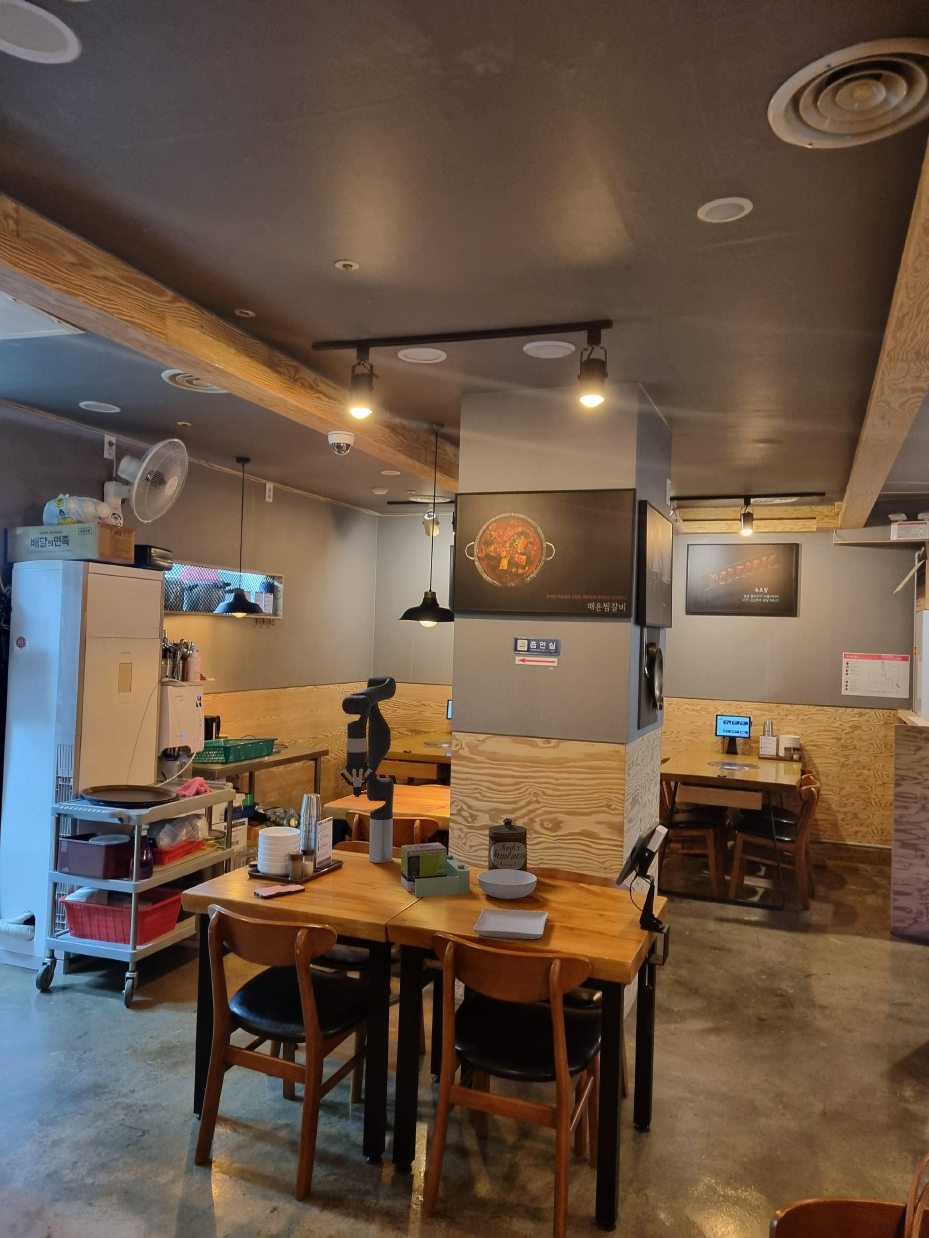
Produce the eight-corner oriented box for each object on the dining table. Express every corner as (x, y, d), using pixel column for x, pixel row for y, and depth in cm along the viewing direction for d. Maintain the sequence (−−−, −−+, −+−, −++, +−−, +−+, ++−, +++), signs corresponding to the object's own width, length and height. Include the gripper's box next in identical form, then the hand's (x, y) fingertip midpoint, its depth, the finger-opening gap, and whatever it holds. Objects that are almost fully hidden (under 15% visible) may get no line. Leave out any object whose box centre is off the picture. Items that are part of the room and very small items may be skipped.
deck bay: (401, 880, 316) (401, 856, 316) (451, 877, 322) (452, 853, 322) (415, 897, 295) (416, 871, 295) (469, 893, 301) (469, 867, 301)
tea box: (439, 881, 316) (440, 841, 316) (447, 889, 306) (447, 847, 306) (400, 884, 311) (400, 843, 311) (406, 892, 301) (407, 850, 302)
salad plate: (472, 939, 254) (472, 928, 254) (483, 917, 275) (483, 906, 275) (542, 945, 251) (542, 933, 251) (548, 922, 271) (548, 911, 272)
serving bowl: (533, 906, 286) (533, 886, 287) (472, 902, 290) (472, 882, 291) (539, 889, 307) (540, 870, 307) (482, 885, 311) (483, 866, 311)
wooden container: (490, 881, 316) (490, 822, 317) (486, 871, 331) (486, 814, 332) (529, 881, 317) (530, 822, 318) (523, 870, 332) (524, 814, 333)
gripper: (373, 747, 318) (373, 793, 318) (337, 748, 315) (338, 795, 315) (376, 750, 310) (376, 797, 311) (339, 752, 307) (340, 799, 308)
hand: (357, 796), depth 313 cm, fingers closed
